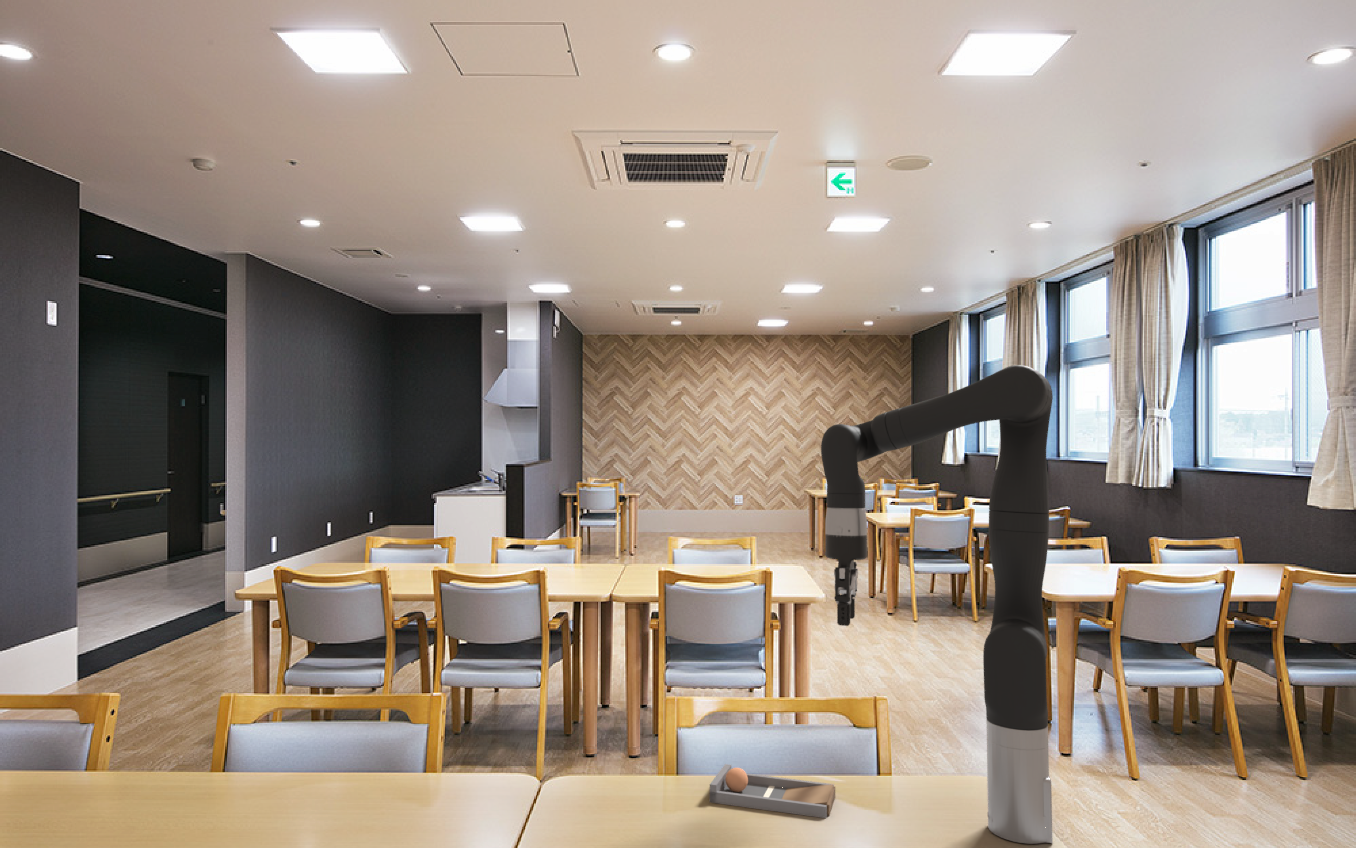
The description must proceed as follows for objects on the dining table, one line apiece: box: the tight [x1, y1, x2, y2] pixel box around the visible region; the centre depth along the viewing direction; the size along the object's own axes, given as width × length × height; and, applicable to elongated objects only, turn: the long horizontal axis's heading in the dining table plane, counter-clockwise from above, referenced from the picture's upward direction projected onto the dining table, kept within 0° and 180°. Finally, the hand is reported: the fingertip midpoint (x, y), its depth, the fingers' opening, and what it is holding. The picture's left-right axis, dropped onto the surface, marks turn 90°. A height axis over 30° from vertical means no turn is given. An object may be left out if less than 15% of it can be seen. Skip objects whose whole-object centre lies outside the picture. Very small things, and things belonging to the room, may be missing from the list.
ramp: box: [782, 783, 836, 817], centre depth 139 cm, size 9×9×3 cm
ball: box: [726, 767, 748, 792], centre depth 143 cm, size 4×4×4 cm
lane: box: [709, 763, 835, 819], centre depth 141 cm, size 20×11×3 cm, turn 72°
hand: (846, 621), depth 147 cm, fingers open, 8 cm apart
